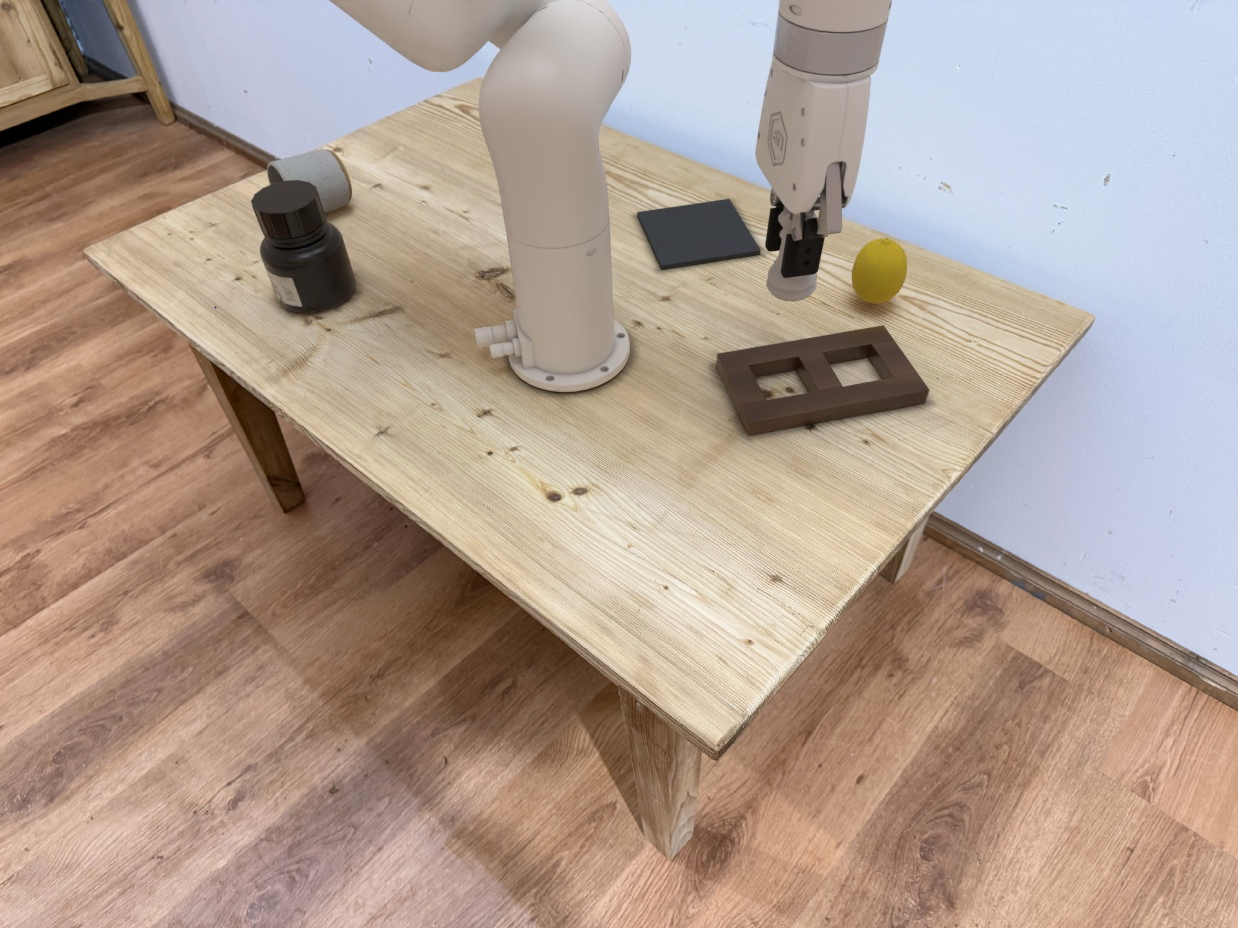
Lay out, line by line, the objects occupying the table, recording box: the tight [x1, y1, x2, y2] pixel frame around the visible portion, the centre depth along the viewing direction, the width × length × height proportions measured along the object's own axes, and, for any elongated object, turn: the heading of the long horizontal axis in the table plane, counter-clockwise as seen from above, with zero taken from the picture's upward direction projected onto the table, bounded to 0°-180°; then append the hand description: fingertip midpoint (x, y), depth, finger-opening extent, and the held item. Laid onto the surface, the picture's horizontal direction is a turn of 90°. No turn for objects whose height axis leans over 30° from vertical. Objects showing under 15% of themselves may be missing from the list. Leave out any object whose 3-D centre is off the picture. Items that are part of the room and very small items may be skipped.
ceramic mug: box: [266, 148, 353, 214], centre depth 107 cm, size 11×8×8 cm
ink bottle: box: [250, 180, 357, 314], centre depth 93 cm, size 10×9×12 cm
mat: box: [636, 198, 762, 271], centre depth 103 cm, size 12×12×1 cm
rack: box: [715, 324, 930, 436], centre depth 83 cm, size 10×18×2 cm, turn 103°
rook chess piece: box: [765, 206, 818, 302], centre depth 73 cm, size 4×4×8 cm
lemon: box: [851, 237, 908, 305], centre depth 90 cm, size 6×6×8 cm
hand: (790, 259), depth 73 cm, fingers closed on rook chess piece, 3 cm apart
